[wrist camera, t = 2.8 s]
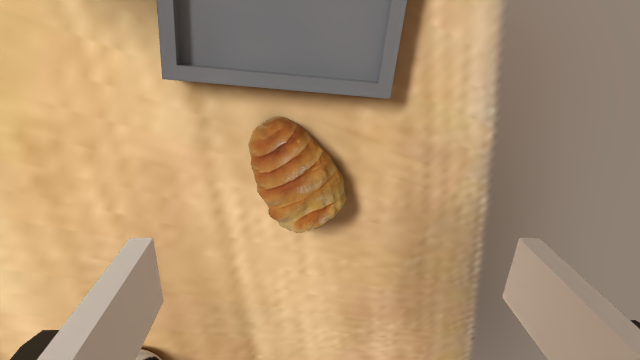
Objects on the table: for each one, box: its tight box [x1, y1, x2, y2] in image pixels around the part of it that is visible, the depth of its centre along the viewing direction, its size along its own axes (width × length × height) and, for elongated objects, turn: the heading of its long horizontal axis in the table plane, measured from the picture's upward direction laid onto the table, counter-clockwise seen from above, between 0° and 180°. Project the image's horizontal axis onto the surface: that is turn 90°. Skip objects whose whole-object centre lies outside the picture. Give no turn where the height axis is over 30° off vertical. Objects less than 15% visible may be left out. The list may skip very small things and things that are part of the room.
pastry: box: [249, 117, 346, 233], centre depth 30 cm, size 9×7×4 cm
